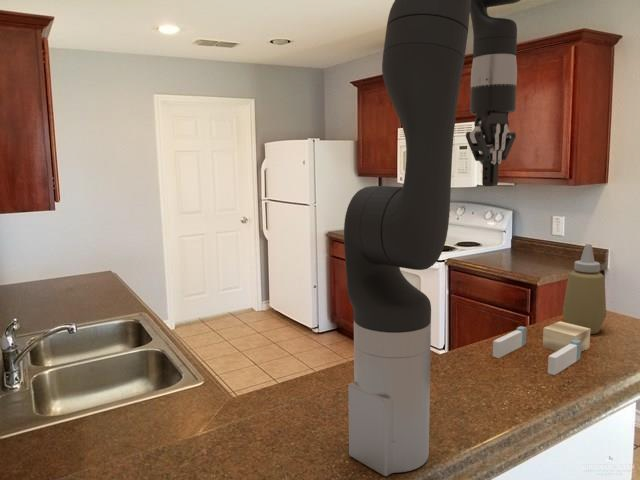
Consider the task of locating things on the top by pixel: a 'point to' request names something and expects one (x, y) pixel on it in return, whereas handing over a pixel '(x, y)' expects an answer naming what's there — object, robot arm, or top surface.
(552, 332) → the maple block
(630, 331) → the top surface
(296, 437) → the top surface
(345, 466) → the top surface
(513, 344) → the corridor
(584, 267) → the squeeze bottle
